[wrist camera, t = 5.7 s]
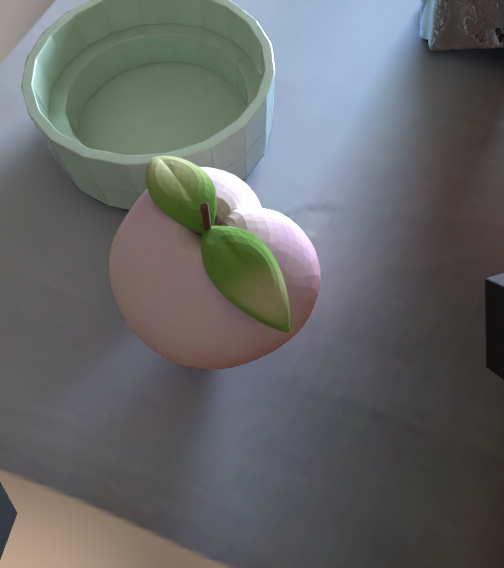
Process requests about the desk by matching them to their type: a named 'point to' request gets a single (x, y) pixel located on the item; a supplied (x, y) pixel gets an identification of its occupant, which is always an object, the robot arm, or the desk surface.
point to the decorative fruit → (210, 268)
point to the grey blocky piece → (462, 24)
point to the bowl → (150, 91)
